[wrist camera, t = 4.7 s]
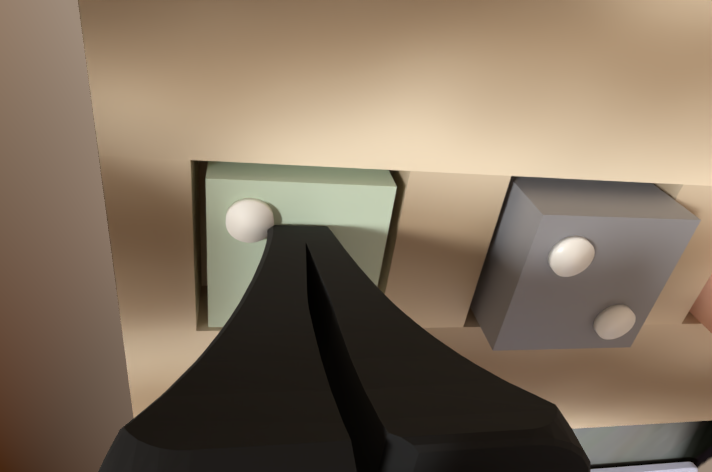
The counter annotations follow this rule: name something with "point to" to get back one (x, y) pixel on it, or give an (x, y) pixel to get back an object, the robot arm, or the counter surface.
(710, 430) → the counter surface
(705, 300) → the terracotta tile
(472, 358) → the tile panel
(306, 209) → the sage tile
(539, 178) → the charcoal tile
